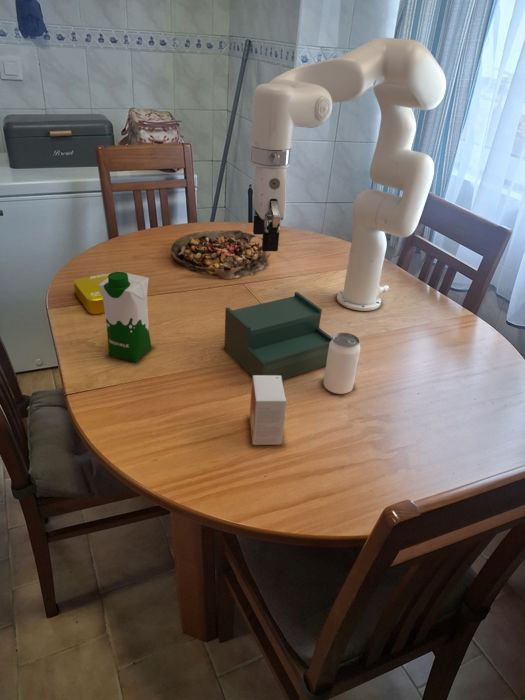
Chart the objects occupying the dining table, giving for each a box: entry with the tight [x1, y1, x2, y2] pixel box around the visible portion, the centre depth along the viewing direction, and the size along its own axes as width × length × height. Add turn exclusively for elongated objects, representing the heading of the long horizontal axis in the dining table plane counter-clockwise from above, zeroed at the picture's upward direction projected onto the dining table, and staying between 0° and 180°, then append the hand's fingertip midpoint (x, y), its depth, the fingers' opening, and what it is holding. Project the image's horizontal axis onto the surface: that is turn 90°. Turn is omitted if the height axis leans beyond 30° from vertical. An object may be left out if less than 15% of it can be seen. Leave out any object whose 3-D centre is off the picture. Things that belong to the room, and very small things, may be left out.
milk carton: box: [98, 271, 152, 363], centre depth 113 cm, size 9×9×20 cm
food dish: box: [169, 229, 271, 280], centre depth 168 cm, size 35×33×8 cm
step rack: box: [223, 291, 333, 381], centre depth 118 cm, size 17×20×11 cm
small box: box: [249, 375, 287, 446], centre depth 95 cm, size 8×6×10 cm
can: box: [323, 332, 361, 395], centre depth 108 cm, size 6×6×12 cm
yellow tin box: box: [73, 270, 128, 315], centre depth 138 cm, size 15×15×5 cm
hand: (264, 242), depth 107 cm, fingers open, 9 cm apart
